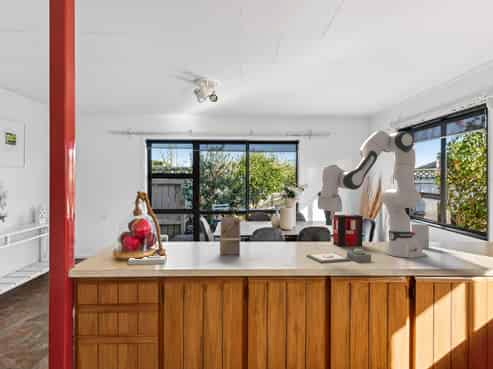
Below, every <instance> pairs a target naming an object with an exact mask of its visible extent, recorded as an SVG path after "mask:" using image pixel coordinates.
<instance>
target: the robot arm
mask: <svg viewBox="0 0 493 369" xmlns="http://www.w3.org/2000/svg"><path fill="white" fill-rule="evenodd" d="M413 147H414V137H413V134H411V132H409V131H405V130H401V131H394V132H391V133H389V134H388V133H387V132H386V131H385V130H377V131H375V132H373V133H372V135H370V136H369V137H368V138H367V139H366V140H365V141H364V142H363V144H361V147H360V148H359V154H360V155H359V156H360V157H361V158H362V159H361V161H360V162H359V164H358V165H356V166H357V167H356V168H354V169H353V170H349V171H348V170H347V171H346V170H344V169H342V168H340V167H339V166H338V165H337V164H331V165H325V166H324V167H323V169H322V178H321V181H322V187H321V190H320V191H318V192H317V194H316V195H317V208H318V210H323V214H324V219H326V207H327V210H328V211H331V212H330V213H331V215H330V218H329V219H332V220H333V219H334V215H336V213H341V212H342V211H343V201H342V197H341V196H340V194H339V188H340V189H344V190H345V189H347V190H348V189H349V190H352V191H355V190H358V189H360V188H361V186H362V185H363V184H364V180H365V177H366V176H367V175H368V173H369V171H370V170H371V169H372V167H373V166H374V165H375V163H376V161H377V159H378V157H380V155H381V154H382V152H384V153H394V154H395V159H394V165H393V166H394V167H393V174H392V178H393V179H394V180H395V181H396V184H397V187H396V188H395V187H391V188H387V189H385V190H383V191H382V192H381V195H380V197H381V198H380V199H381V202H382V203H383V204H384V205H385V207H386V210H387V212H388V215H389V216H388V217H389V230H388V239H389V240H388V246H387V251H386V255H389V256H393V257H399V258H409V259H413V258H419V257H425V256H427V255H428V254H427V253H426V252H424V251H423V248H422V246H421V244H420V243H419V242H417V241H416V240H415V239H414V238H413V236H412V235H416V232H412V230H411V217H410V216H409V214H407V212H406V210H405V208H408V209H410V208H416V207H419V205H420V204H421V203H422V202H421V201H422V195H421V193H420V192H419V191H418V190H417V188H416V185H415V181H414V179H415V178H414V177H415V168H416V151H415V148H413Z"/></svg>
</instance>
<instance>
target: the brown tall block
mask: <svg viewBox="0 0 493 369" xmlns="http://www.w3.org/2000/svg"><path fill="white" fill-rule="evenodd" d="M219 255H220V256H223V255H238V256H240V257H241V217H235V212H233V217H220V236H219Z"/></svg>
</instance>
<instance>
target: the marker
mask: <svg viewBox="0 0 493 369" xmlns="http://www.w3.org/2000/svg"><path fill="white" fill-rule="evenodd" d="M330 212H331V211H328V210H327V207H326V218H325V226H328V227H329V226H333V219H329V218H330V215H331V213H330Z"/></svg>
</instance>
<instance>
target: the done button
mask: <svg viewBox="0 0 493 369" xmlns="http://www.w3.org/2000/svg"><path fill="white" fill-rule="evenodd" d="M353 252H354V254H356V255H362V254H363V252H364V249H362V248H354V251H353Z"/></svg>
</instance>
